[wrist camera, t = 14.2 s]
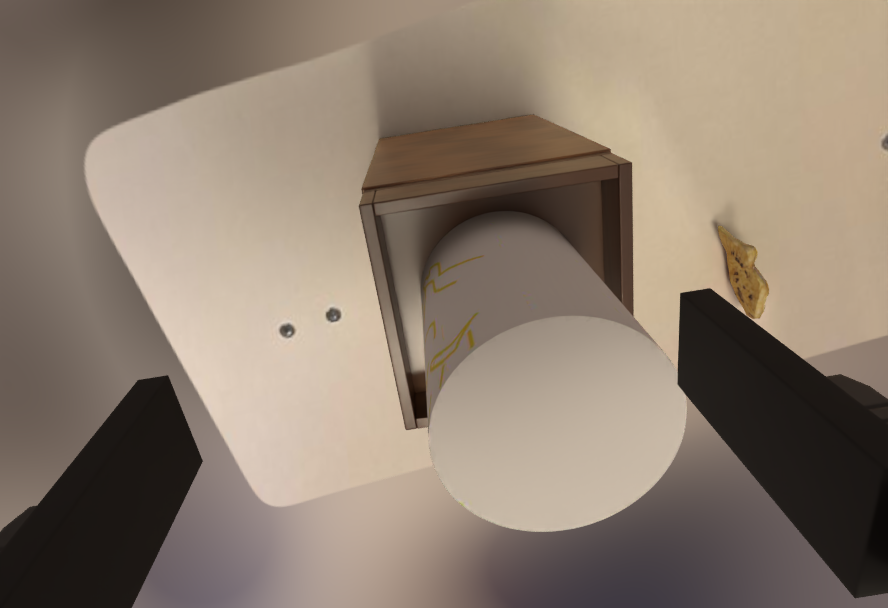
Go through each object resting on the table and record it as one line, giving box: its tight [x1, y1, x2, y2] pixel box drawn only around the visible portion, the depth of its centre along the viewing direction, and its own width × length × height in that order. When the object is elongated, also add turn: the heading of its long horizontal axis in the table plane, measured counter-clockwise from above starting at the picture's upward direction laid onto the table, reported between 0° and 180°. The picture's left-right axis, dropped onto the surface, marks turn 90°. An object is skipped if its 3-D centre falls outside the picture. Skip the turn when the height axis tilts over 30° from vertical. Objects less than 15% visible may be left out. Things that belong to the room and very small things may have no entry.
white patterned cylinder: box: [421, 211, 687, 532], centre depth 23 cm, size 8×8×12 cm
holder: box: [359, 152, 633, 430], centre depth 28 cm, size 12×12×3 cm
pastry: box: [718, 226, 769, 319], centre depth 47 cm, size 9×2×5 cm, turn 26°
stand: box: [362, 114, 611, 194], centre depth 37 cm, size 12×12×18 cm
